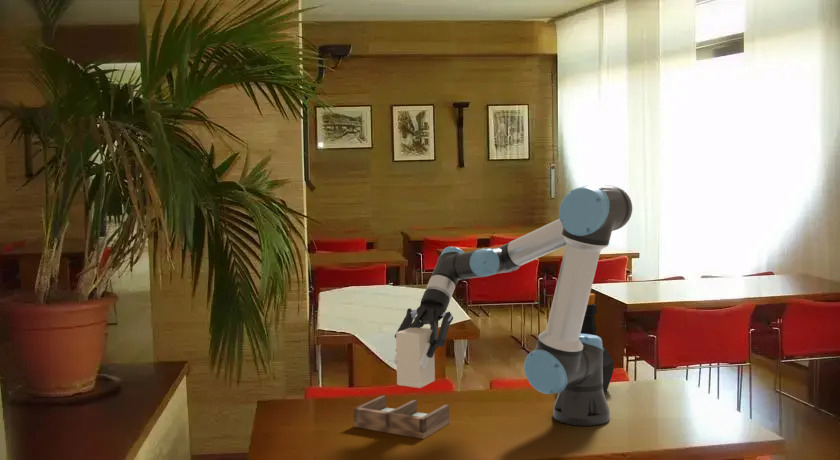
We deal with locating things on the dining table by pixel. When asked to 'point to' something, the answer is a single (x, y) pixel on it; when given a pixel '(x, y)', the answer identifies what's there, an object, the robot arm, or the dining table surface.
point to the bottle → (590, 328)
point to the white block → (413, 358)
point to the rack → (400, 418)
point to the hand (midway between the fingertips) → (409, 365)
